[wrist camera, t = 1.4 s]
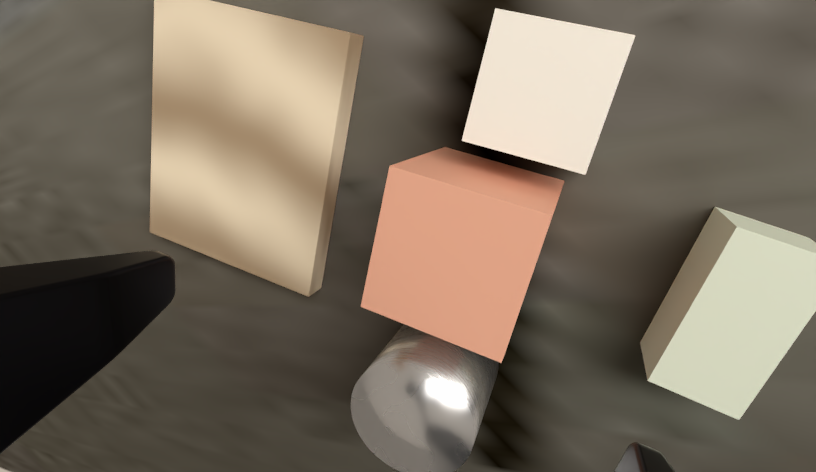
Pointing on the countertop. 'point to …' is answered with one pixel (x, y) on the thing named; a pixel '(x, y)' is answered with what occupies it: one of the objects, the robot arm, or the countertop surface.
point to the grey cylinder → (422, 402)
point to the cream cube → (545, 88)
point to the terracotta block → (458, 246)
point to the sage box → (731, 312)
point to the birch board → (249, 136)
